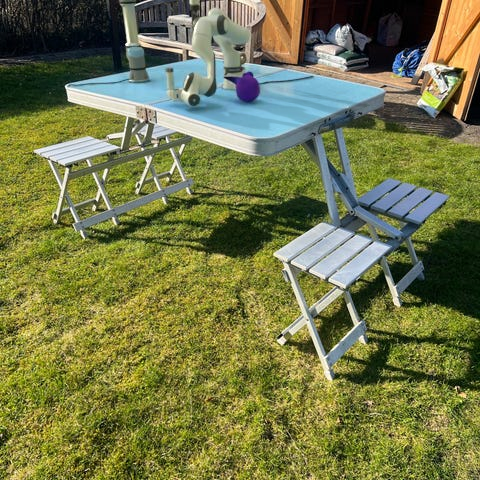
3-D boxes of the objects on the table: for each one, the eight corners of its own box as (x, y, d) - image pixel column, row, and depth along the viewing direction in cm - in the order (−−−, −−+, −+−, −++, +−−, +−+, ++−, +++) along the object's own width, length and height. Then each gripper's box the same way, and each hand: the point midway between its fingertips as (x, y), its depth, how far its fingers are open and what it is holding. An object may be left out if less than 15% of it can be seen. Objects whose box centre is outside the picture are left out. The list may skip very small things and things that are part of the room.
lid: (175, 71, 292) (174, 67, 291) (168, 72, 289) (168, 68, 288) (170, 70, 296) (170, 66, 295) (164, 71, 293) (163, 68, 292)
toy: (245, 93, 294) (260, 108, 274) (220, 89, 287) (233, 103, 266) (251, 69, 286) (267, 82, 266) (226, 64, 279) (240, 76, 258)
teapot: (227, 72, 362) (226, 52, 355) (220, 70, 371) (219, 51, 363) (249, 69, 371) (249, 50, 364) (242, 67, 380) (242, 48, 372)
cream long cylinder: (176, 93, 300) (174, 68, 292) (170, 95, 297) (168, 69, 289) (172, 92, 303) (170, 67, 294) (166, 94, 300) (164, 68, 292)
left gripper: (203, 5, 329) (204, 36, 339) (195, 3, 349) (197, 33, 360) (193, 5, 327) (195, 37, 338) (186, 4, 347) (188, 34, 358)
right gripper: (202, 87, 269) (195, 83, 280) (169, 90, 262) (163, 86, 273) (203, 98, 272) (196, 93, 283) (170, 101, 265) (164, 97, 276)
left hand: (196, 35), depth 349 cm, fingers open, 13 cm apart
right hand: (180, 90), depth 278 cm, fingers open, 8 cm apart
